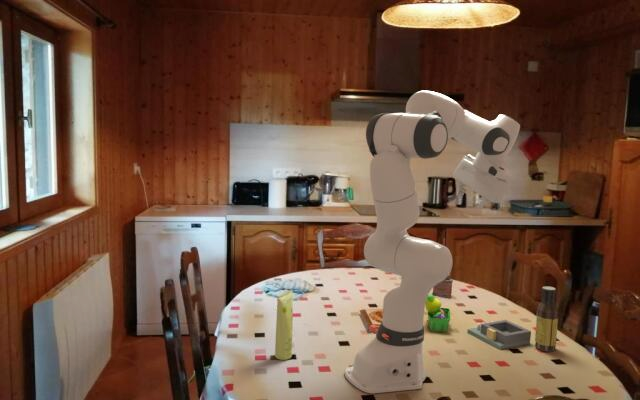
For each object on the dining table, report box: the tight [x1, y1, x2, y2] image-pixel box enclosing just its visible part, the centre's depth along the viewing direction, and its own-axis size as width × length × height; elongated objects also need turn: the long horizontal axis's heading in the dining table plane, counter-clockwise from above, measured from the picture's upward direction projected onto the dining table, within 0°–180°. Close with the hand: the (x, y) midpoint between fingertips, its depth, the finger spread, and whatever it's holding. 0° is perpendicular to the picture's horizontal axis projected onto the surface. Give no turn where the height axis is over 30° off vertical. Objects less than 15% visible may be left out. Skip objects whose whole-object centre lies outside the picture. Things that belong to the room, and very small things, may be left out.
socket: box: [480, 319, 532, 345], centre depth 176 cm, size 12×11×3 cm
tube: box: [274, 289, 293, 361], centre depth 155 cm, size 6×5×20 cm
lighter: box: [431, 274, 454, 299], centre depth 220 cm, size 8×3×10 cm, turn 58°
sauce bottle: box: [534, 285, 559, 353], centre depth 169 cm, size 6×6×20 cm
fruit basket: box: [425, 294, 452, 333], centre depth 185 cm, size 11×9×11 cm
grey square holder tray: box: [467, 320, 531, 350], centre depth 177 cm, size 13×15×3 cm
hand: (467, 202), depth 175 cm, fingers open, 8 cm apart
